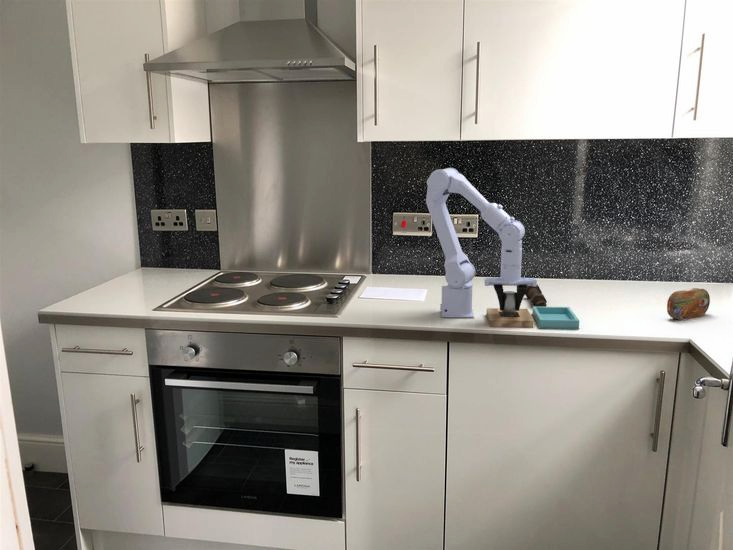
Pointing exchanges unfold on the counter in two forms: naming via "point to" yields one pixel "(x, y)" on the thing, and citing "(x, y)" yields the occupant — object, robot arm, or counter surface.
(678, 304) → the tin
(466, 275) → the robot arm
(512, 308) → the pin
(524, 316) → the wooden socket board
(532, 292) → the bolt
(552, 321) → the tray
